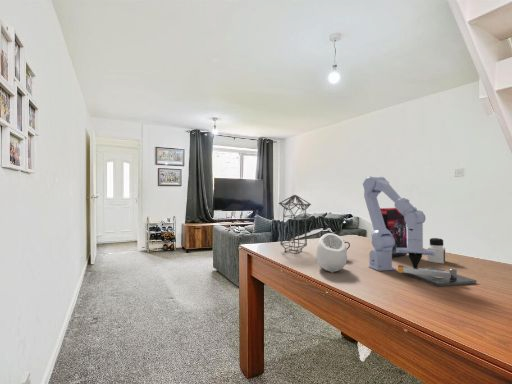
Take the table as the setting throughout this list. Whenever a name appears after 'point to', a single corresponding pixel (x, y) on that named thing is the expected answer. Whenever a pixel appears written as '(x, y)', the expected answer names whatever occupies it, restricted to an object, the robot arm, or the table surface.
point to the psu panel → (441, 279)
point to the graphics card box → (395, 228)
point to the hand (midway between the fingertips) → (415, 270)
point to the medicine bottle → (437, 251)
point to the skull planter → (331, 252)
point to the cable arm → (429, 272)
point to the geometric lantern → (294, 222)
